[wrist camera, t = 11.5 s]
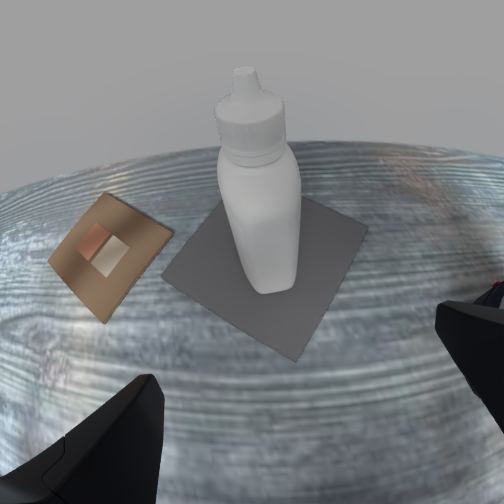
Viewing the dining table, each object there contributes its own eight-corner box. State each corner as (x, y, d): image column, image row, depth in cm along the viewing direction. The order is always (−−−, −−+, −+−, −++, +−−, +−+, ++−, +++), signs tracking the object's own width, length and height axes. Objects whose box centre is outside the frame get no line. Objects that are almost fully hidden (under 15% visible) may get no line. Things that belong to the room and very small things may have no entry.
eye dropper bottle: (218, 283, 18) (137, 115, 7) (250, 211, 20) (219, 43, 10) (288, 304, 16) (289, 127, 6) (312, 226, 19) (326, 48, 8)
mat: (367, 229, 19) (368, 227, 18) (295, 362, 15) (296, 361, 15) (245, 176, 22) (245, 173, 22) (162, 277, 18) (160, 276, 18)
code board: (173, 234, 20) (172, 232, 20) (104, 324, 17) (101, 322, 17) (105, 194, 23) (104, 191, 23) (49, 262, 20) (46, 260, 20)
